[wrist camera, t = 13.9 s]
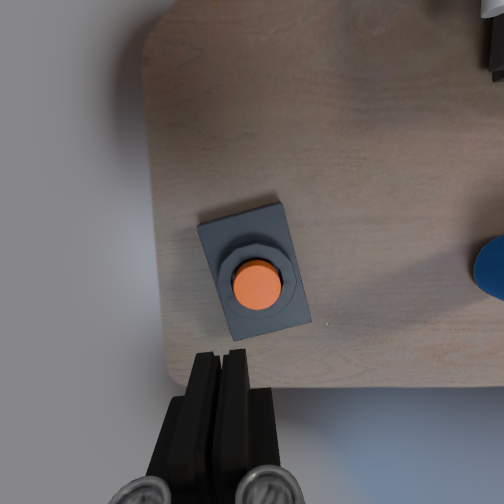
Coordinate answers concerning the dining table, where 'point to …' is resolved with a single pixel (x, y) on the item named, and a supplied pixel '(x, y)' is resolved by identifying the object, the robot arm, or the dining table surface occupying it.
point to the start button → (257, 285)
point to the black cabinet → (498, 76)
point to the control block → (247, 249)
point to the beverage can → (491, 268)
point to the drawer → (495, 32)
